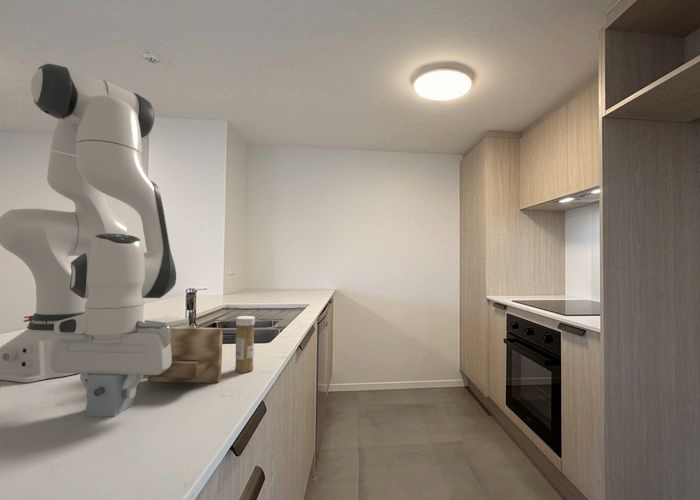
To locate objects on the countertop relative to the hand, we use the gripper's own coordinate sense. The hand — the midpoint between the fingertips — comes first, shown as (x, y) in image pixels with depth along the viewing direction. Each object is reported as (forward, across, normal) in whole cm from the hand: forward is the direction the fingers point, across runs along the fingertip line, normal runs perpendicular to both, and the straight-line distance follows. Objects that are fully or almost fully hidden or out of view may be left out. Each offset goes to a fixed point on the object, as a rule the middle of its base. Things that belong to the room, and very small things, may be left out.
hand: (111, 397), depth 60 cm
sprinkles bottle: (+2, -17, -23) cm, 29 cm away
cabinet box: (+2, 0, 0) cm, 2 cm away
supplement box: (+3, +3, -23) cm, 23 cm away
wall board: (+2, -6, -12) cm, 13 cm away
